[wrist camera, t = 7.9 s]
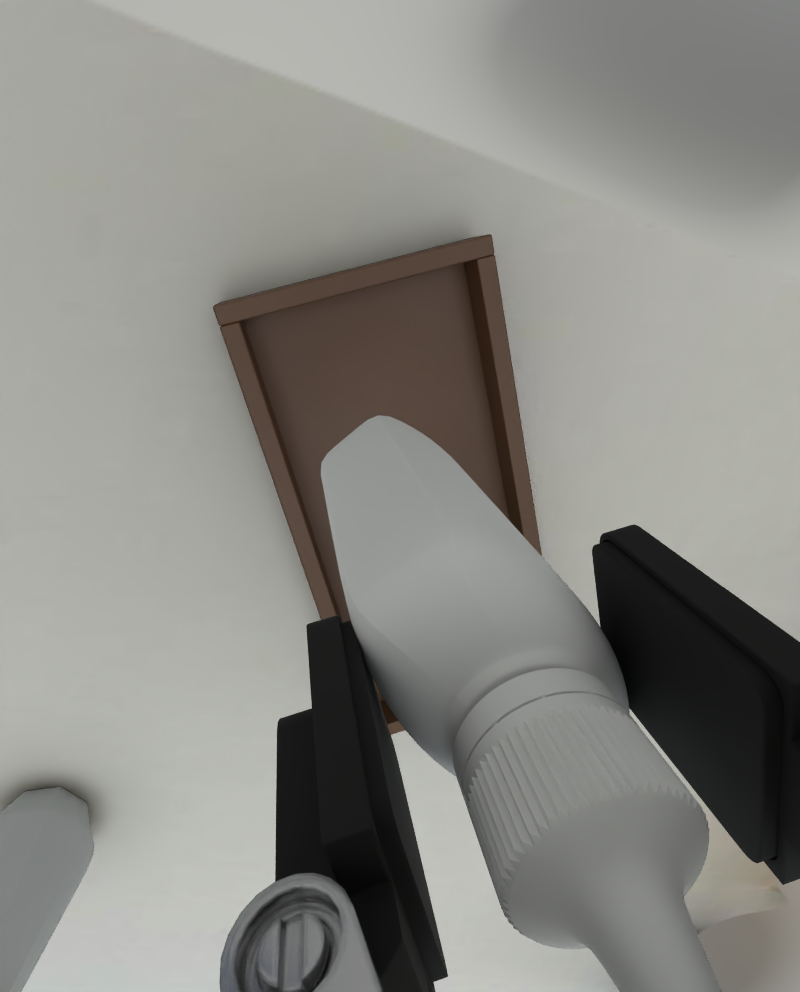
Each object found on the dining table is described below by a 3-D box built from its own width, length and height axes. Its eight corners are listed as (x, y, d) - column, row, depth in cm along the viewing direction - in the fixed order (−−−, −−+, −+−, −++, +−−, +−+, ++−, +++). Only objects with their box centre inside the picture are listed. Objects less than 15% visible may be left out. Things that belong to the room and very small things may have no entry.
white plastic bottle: (352, 611, 17) (481, 1257, 6) (309, 423, 15) (388, 887, 4) (496, 576, 17) (870, 1111, 6) (476, 390, 15) (990, 709, 4)
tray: (218, 302, 25) (212, 306, 23) (472, 237, 26) (492, 233, 24) (358, 711, 34) (364, 744, 32) (542, 651, 35) (561, 679, 33)
